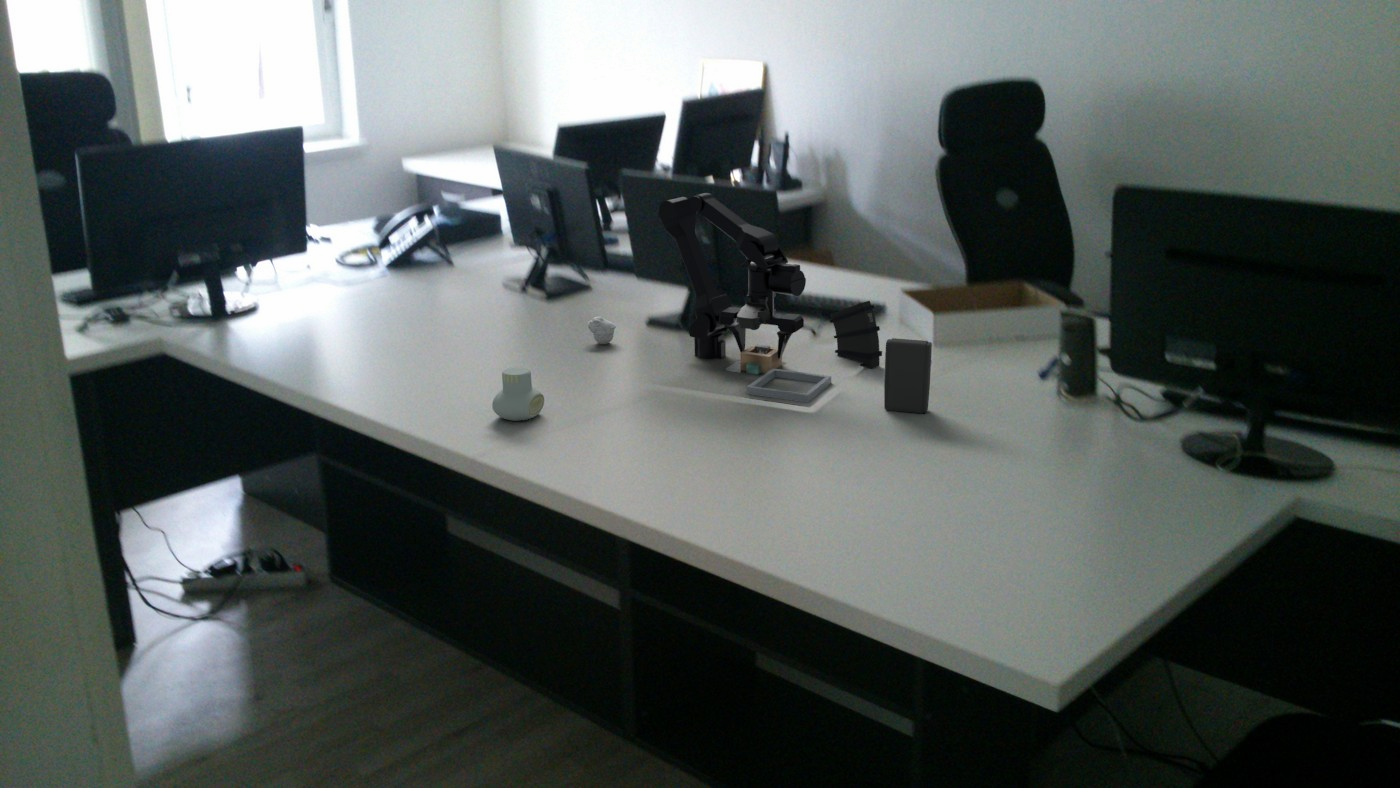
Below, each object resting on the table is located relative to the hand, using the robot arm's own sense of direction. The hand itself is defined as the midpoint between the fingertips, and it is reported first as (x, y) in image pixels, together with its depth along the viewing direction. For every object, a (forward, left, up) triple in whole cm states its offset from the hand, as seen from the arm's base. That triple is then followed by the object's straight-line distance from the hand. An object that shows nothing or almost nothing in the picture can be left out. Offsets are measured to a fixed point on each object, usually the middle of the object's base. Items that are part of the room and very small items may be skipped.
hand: (761, 355), depth 273 cm
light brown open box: (0, 0, -3) cm, 3 cm away
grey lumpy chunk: (-45, +4, -4) cm, 45 cm away
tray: (+12, -11, -4) cm, 16 cm away
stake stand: (-1, 0, -4) cm, 4 cm away
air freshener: (-34, -48, -4) cm, 58 cm away
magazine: (+17, +15, -4) cm, 23 cm away
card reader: (+38, -12, -4) cm, 40 cm away
